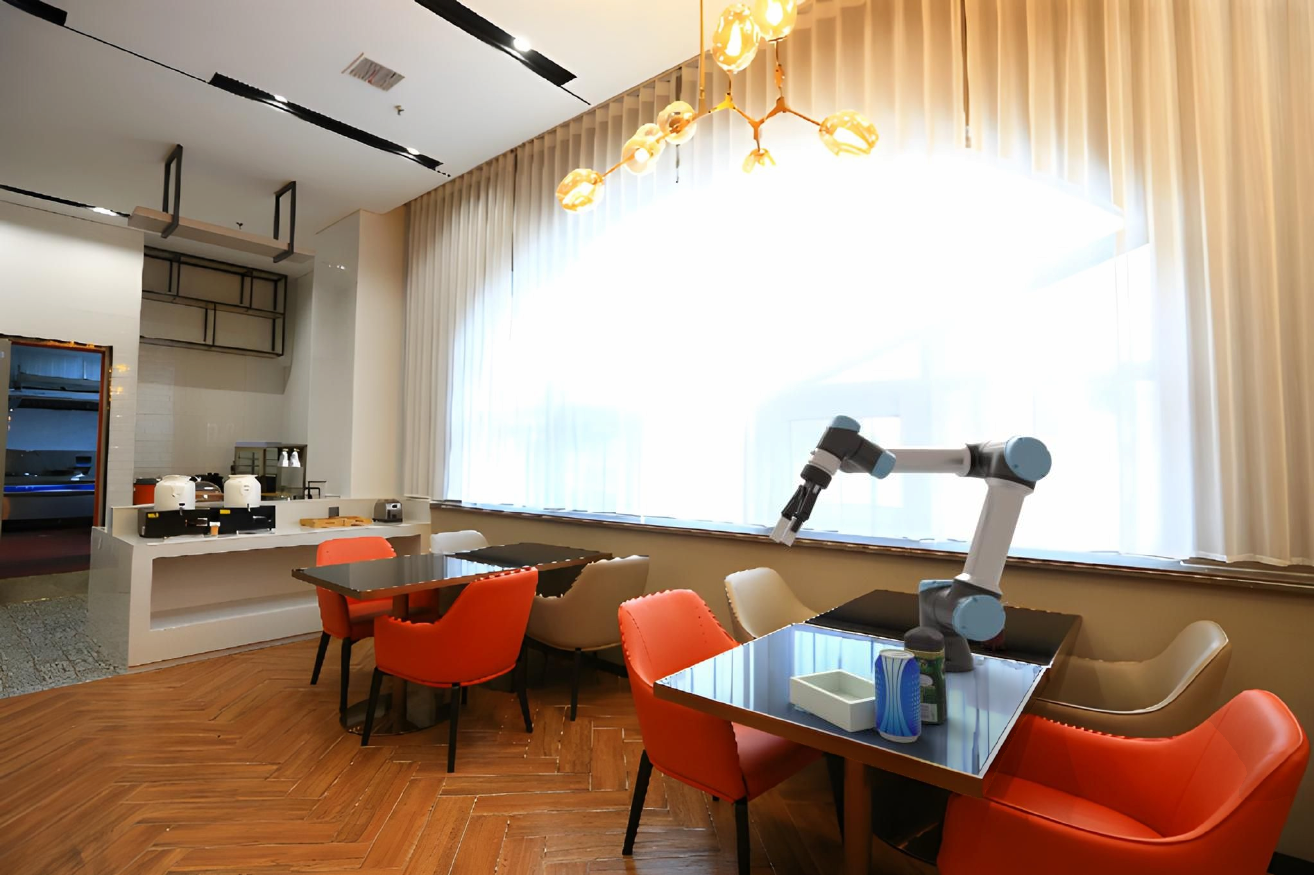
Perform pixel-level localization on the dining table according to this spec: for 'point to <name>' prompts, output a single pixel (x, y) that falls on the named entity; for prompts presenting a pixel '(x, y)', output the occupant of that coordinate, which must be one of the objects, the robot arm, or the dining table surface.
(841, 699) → the tote
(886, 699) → the beer can
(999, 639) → the mate gourd
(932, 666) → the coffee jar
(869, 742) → the dining table surface
